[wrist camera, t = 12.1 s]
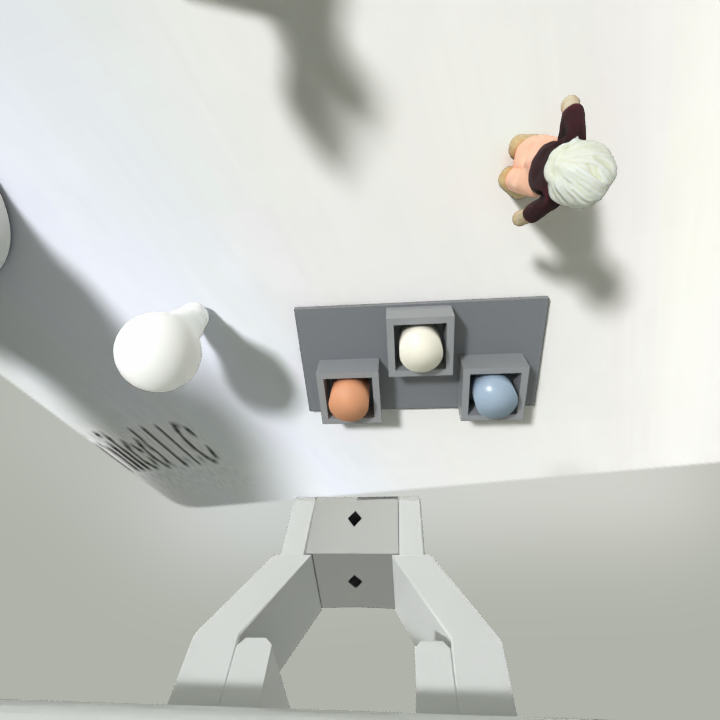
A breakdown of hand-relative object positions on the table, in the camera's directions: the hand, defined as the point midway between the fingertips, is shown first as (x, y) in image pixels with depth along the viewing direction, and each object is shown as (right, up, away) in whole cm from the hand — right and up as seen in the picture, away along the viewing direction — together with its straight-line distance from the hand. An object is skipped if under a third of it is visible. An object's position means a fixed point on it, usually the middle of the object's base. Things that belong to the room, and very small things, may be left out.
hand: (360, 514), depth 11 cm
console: (+5, +4, +31) cm, 31 cm away
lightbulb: (-15, +8, +30) cm, 34 cm away
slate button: (+12, +2, +30) cm, 33 cm away
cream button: (+5, +6, +29) cm, 30 cm away
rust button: (-1, +1, +32) cm, 31 cm away
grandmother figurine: (+12, +19, +22) cm, 32 cm away
